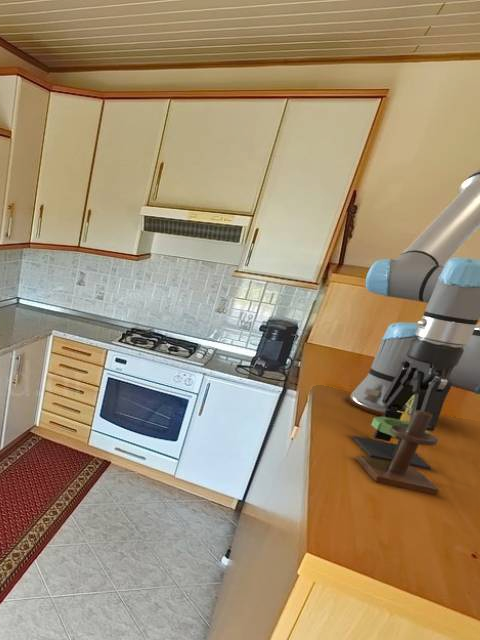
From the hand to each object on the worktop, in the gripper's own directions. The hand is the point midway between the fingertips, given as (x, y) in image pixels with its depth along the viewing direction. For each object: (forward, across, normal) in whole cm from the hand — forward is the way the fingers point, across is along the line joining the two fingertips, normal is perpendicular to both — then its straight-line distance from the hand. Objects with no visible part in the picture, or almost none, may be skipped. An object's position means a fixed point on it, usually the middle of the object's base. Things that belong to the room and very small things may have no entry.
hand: (390, 447), depth 100 cm
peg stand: (+1, +13, -4) cm, 14 cm away
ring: (-4, 0, 0) cm, 4 cm away
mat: (+1, 0, 0) cm, 1 cm away
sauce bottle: (+1, -13, +8) cm, 15 cm away
